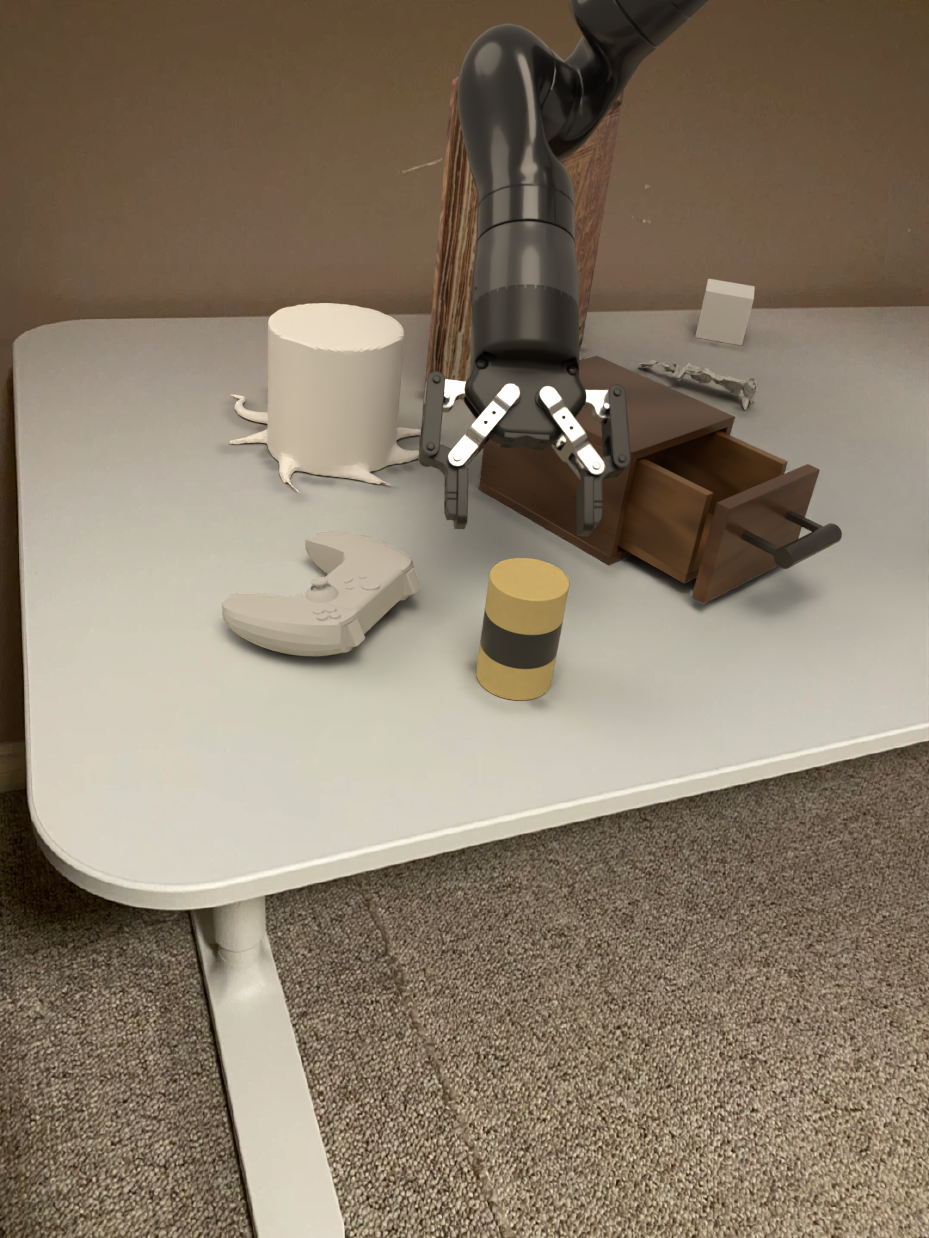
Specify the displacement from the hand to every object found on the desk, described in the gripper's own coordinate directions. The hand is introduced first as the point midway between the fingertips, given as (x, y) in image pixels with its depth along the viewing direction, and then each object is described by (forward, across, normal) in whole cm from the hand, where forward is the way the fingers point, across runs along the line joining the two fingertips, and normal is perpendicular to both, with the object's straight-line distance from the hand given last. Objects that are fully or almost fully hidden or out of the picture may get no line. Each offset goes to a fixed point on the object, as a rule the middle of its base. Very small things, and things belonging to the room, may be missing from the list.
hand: (523, 530), depth 73 cm
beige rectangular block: (-44, +36, +57) cm, 80 cm away
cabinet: (-9, +10, +22) cm, 25 cm away
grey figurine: (-30, +27, +43) cm, 59 cm away
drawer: (-3, +17, +14) cm, 23 cm away
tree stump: (-16, -14, +29) cm, 36 cm away
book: (-32, +6, +45) cm, 55 cm away
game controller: (+5, -13, +8) cm, 16 cm away
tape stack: (+10, 0, +3) cm, 10 cm away
